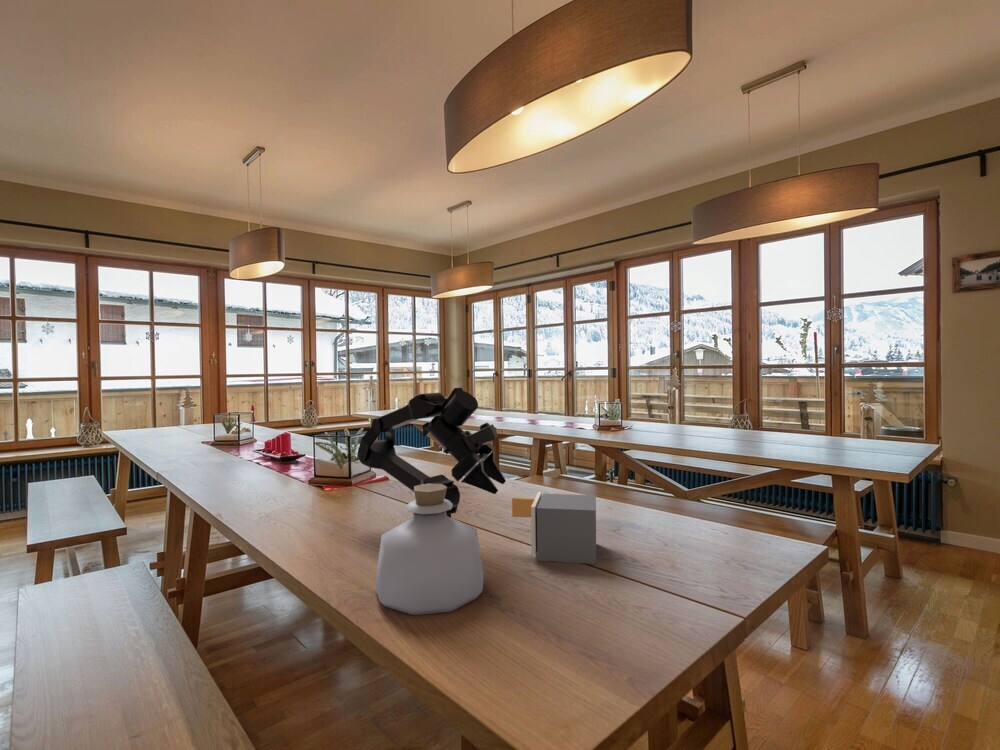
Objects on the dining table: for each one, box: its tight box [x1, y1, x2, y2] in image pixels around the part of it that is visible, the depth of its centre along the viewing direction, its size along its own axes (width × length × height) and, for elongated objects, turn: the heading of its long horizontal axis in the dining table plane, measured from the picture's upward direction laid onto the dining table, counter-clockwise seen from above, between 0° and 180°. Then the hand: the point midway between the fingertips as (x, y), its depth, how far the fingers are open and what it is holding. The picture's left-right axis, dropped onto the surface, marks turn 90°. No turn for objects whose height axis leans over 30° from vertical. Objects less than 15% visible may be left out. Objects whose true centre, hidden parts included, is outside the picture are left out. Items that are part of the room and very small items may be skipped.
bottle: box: [374, 483, 485, 616], centre depth 91 cm, size 20×20×19 cm
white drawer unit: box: [511, 491, 543, 558], centre depth 109 cm, size 17×13×10 cm
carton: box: [536, 493, 597, 565], centre depth 109 cm, size 12×12×11 cm
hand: (500, 487), depth 111 cm, fingers open, 9 cm apart
